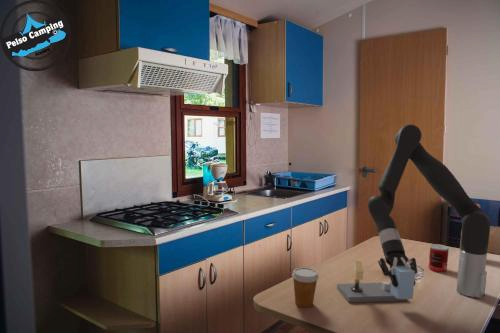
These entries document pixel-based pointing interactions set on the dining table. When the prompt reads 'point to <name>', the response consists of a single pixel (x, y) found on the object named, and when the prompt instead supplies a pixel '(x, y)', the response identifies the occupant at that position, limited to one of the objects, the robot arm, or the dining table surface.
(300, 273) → the disposable coffee cup
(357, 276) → the golden lever handle
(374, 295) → the plate
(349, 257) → the dining table surface
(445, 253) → the canned food
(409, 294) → the light blue block
